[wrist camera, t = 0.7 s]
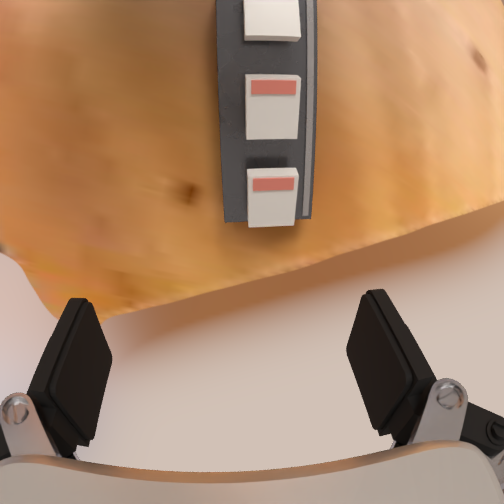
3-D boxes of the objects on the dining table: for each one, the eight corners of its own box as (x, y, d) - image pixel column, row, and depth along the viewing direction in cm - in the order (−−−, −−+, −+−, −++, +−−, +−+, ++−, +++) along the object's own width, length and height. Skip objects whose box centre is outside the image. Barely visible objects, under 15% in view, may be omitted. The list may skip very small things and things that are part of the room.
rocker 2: (245, 74, 24) (246, 78, 23) (297, 75, 24) (301, 78, 23) (245, 133, 27) (246, 140, 26) (293, 133, 28) (297, 139, 27)
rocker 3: (247, 168, 28) (248, 177, 27) (295, 167, 28) (299, 176, 27) (247, 218, 32) (248, 228, 31) (291, 216, 32) (294, 226, 31)
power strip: (216, -34, 22) (215, -47, 18) (305, -31, 23) (315, -44, 19) (224, 207, 36) (224, 223, 33) (302, 203, 37) (311, 219, 33)
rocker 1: (242, -13, 20) (243, -21, 19) (293, -11, 20) (297, -18, 19) (244, 40, 22) (245, 34, 21) (297, 41, 22) (301, 36, 21)
